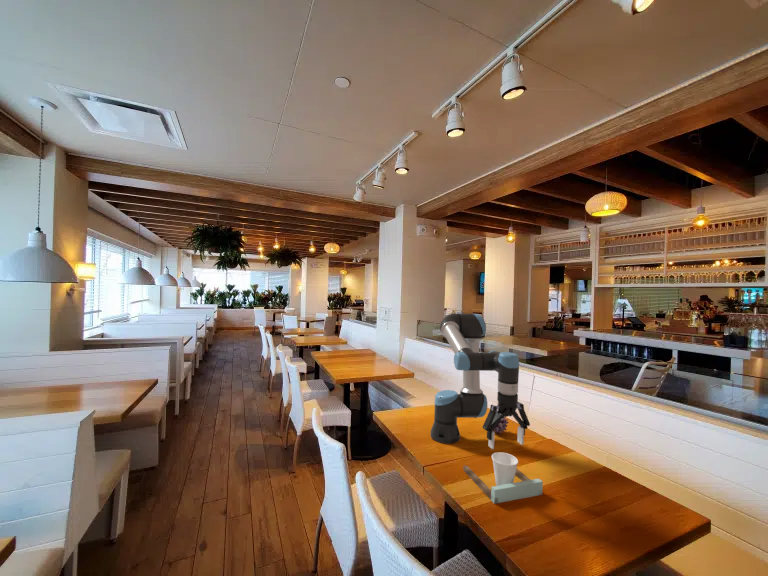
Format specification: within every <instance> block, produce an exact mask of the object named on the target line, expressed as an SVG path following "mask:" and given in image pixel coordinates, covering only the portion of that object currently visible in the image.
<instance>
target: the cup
mask: <svg viewBox="0 0 768 576" xmlns="http://www.w3.org/2000/svg"><path fill="white" fill-rule="evenodd" d="M491 459H492V464H493V465H492V466H493V472H494V479H495V486H498V485H504V484H510V483H515V482H514V481H515V477H516V475H515V472H516V468H517V469H518V464H519V460H518V458H517V457H516V456H514V455H513V454H510V453H507V452H494V453H492V454H491Z"/></svg>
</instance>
